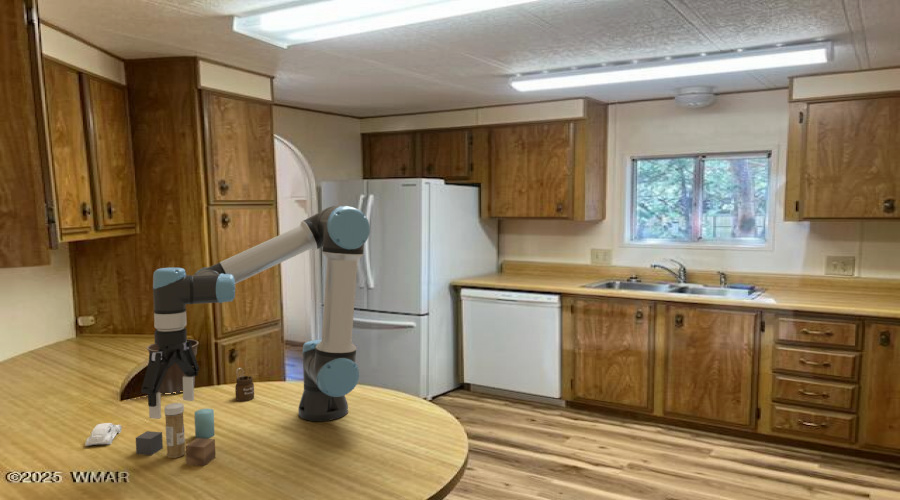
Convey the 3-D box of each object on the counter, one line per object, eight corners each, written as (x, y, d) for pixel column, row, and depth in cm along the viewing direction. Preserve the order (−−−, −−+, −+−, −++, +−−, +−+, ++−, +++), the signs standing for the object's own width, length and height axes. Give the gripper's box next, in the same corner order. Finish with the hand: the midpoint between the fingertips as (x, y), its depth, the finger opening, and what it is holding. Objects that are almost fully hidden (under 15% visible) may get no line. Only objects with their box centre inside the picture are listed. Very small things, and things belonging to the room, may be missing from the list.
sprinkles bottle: (187, 456, 157) (185, 405, 155) (167, 460, 154) (165, 409, 153) (183, 449, 160) (181, 400, 159) (165, 453, 158) (162, 404, 157)
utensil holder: (231, 400, 199) (230, 364, 198) (244, 394, 205) (243, 360, 204) (245, 402, 197) (244, 366, 196) (258, 396, 203) (257, 361, 202)
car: (108, 447, 163) (107, 431, 162) (83, 449, 162) (82, 432, 161) (124, 430, 174) (123, 415, 174) (101, 432, 173) (100, 416, 173)
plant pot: (147, 399, 200) (145, 352, 198) (150, 385, 215) (148, 341, 213) (200, 393, 206) (198, 347, 205) (199, 380, 221) (198, 337, 220)
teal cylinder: (218, 432, 172) (217, 409, 171) (207, 439, 167) (207, 415, 166) (202, 431, 173) (201, 408, 172) (191, 438, 168) (190, 414, 167)
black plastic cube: (162, 448, 162) (162, 432, 161) (151, 455, 157) (150, 438, 157) (147, 447, 162) (147, 431, 162) (136, 454, 158) (135, 437, 158)
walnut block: (215, 458, 156) (214, 439, 155) (204, 466, 151) (203, 447, 150) (198, 456, 157) (197, 437, 156) (186, 464, 152) (185, 445, 151)
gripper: (187, 318, 167) (188, 392, 169) (122, 338, 143) (125, 425, 144) (211, 319, 166) (213, 394, 168) (151, 339, 141) (153, 427, 143)
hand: (172, 408), depth 156 cm, fingers open, 13 cm apart
